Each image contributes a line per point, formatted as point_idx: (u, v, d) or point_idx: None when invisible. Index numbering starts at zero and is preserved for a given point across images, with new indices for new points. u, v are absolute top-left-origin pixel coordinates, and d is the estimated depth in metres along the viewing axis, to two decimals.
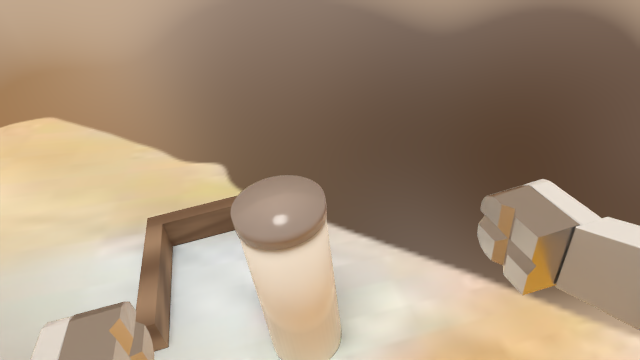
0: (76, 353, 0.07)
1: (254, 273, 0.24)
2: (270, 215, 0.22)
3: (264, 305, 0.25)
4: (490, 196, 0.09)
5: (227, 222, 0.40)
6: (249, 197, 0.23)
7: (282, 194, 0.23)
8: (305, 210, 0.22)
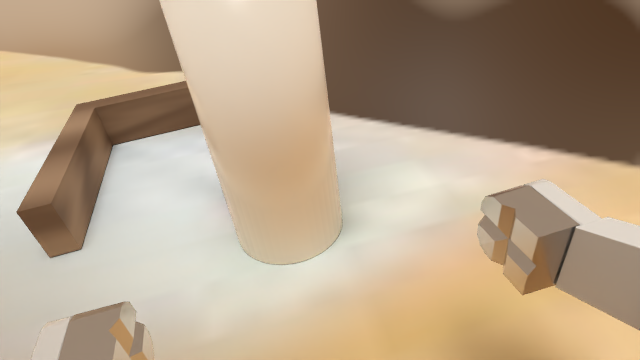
0: (76, 353, 0.07)
1: (185, 58, 0.13)
2: None
3: (210, 137, 0.15)
4: (490, 196, 0.09)
5: (186, 112, 0.30)
6: None
7: None
8: None
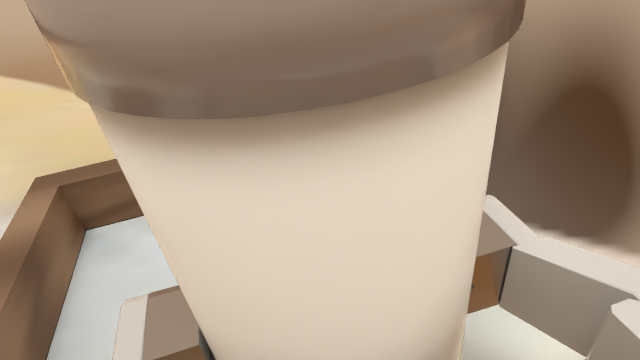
0: (161, 327, 0.07)
1: (180, 280, 0.05)
2: None
3: None
4: None
5: None
6: None
7: None
8: None
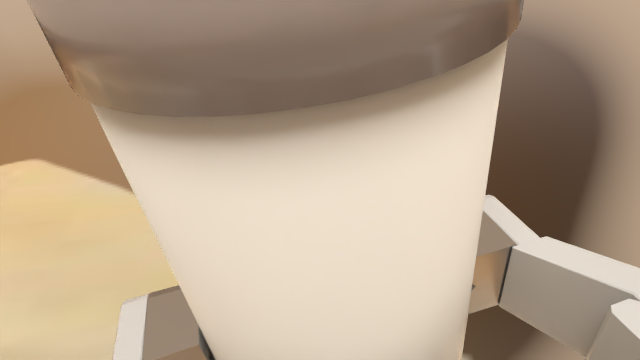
0: (161, 327, 0.07)
1: (180, 280, 0.05)
2: None
3: None
4: None
5: None
6: None
7: None
8: None
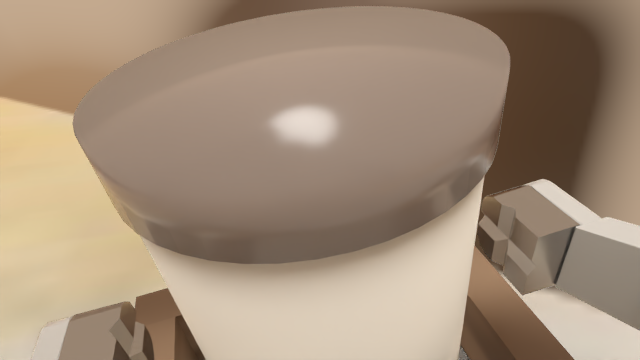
0: (76, 353, 0.07)
1: (203, 349, 0.06)
2: (257, 94, 0.04)
3: None
4: (490, 196, 0.09)
5: None
6: (175, 58, 0.06)
7: (304, 40, 0.06)
8: (424, 69, 0.04)
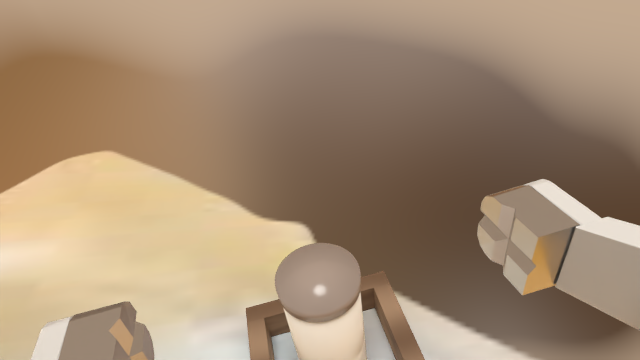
0: (76, 353, 0.07)
1: (294, 334, 0.26)
2: (311, 289, 0.24)
3: (301, 357, 0.28)
4: (490, 196, 0.09)
5: None
6: (290, 267, 0.26)
7: (320, 264, 0.26)
8: (342, 285, 0.24)
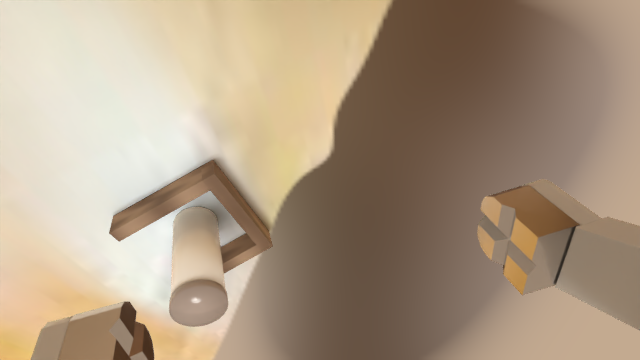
0: (76, 353, 0.07)
1: (174, 272, 0.40)
2: (187, 309, 0.38)
3: (174, 252, 0.42)
4: (490, 196, 0.09)
5: None
6: (200, 293, 0.37)
7: (208, 305, 0.39)
8: (195, 320, 0.39)
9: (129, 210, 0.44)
